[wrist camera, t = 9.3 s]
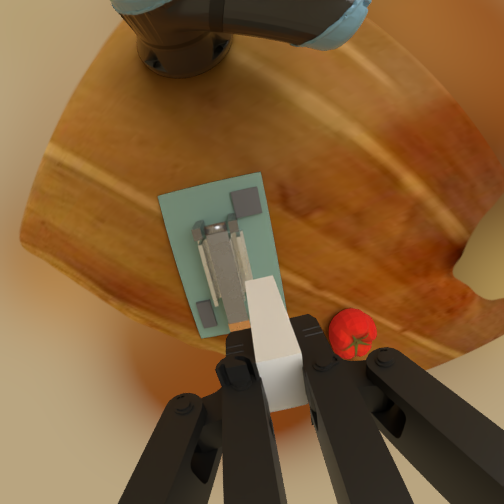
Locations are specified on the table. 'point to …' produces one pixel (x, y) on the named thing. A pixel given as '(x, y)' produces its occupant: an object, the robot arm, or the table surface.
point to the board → (249, 220)
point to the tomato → (352, 333)
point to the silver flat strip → (227, 276)
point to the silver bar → (237, 250)
